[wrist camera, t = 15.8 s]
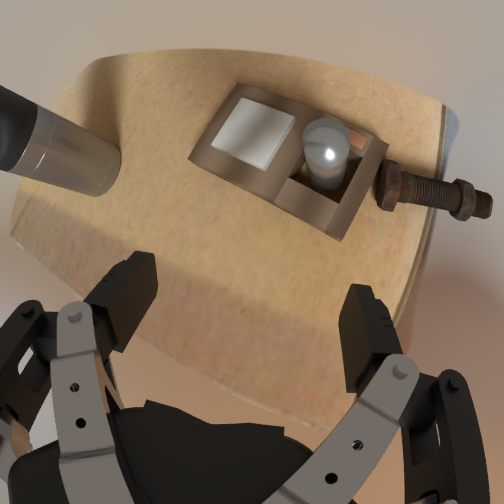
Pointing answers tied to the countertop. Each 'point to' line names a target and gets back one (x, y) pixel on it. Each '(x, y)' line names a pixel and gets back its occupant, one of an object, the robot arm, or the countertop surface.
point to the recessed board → (282, 156)
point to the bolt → (430, 193)
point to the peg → (326, 153)
